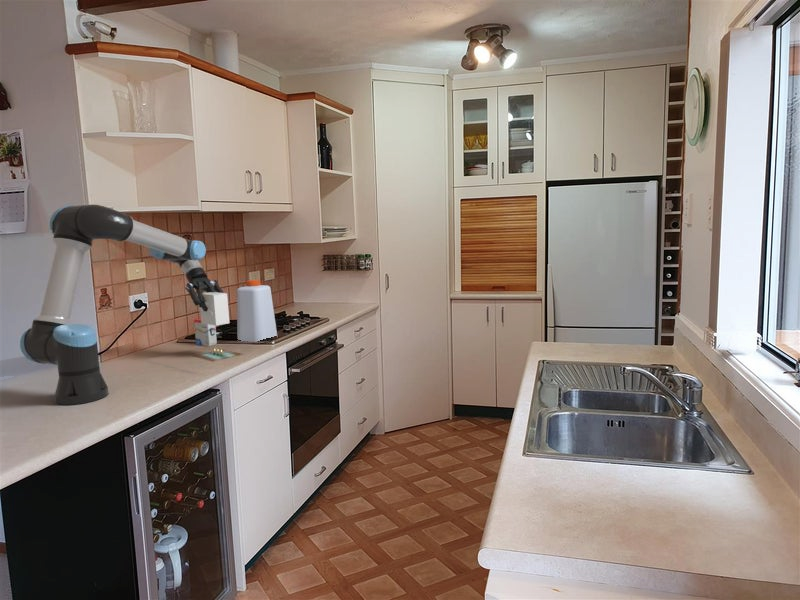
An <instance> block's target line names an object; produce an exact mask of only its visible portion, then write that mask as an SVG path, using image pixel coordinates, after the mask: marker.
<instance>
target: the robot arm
mask: <svg viewBox="0 0 800 600" xmlns="http://www.w3.org/2000/svg"><path fill="white" fill-rule="evenodd" d="M49 229H50V231H51V234H52V235H53V238H52V241H53V243H54V244H55V245H56V247H55V252H54V254H53V260H52V263H51V264H52V265H51V267H50V273H49V276H48V282H47V284H46V287H45V288H46V289H45V293H44V297H43V301H42V305H41V310H40V313H39V315H38V316H37V317H35V318H33V320H32V324H31V327H30V328H28V329H27V330H26V331H24V332H23V333H22V336H21V337H20V340H19V341H20V342H19V348H20V350H21V352H22V354H23V356H24V357H25V358H26V359H27V360H29V361H31V362H33V363H37V364H43V365H46V364H48V365H56V366H57V372H58V380H57V385H56V389H55V393H54V399H55V400H54V401H55V403H56V404H58V405H65V406H66V405H67V406H71V405H79V404H80V405H81V404H86V403H91V402H95V401H98V400H101V399H104V398H105V397H107V396H108V395H109V393H110V392H109V387H108V384H107V382H106V381H105V379H104V377H103V375H102V373H101V368H100V359H99V349H98V338H97V334H96V330H95V328H94V327H92V326H91V325H88V324H84V323H83V324H82V323H78V324H76V323H72V322H71V320H70V319H71V318H70V317H71V315H72V310H73V306H74V301H75V297H76V292H77V289H78V288H77V287H78V284H79V279H80V275H81V271H82V267H83V262H84V257H85V254H86V252H87V251H89V250H91V249H92V246H93V242H94V240H113V241H117V242H126V241H127V242H130V243H134V244H136V245H140V246H143V247H146V248H149V253H150V255H151V256H152V257H153V258H156V259H158V260H163V261H167V262H171V263H174V264H178V265H179V268H180V269H181V271H182V273H183V274H184V276H185V277H186V280H187V281H188V282H186V285H185V288H184V289H185V290H186V291H187V292H188V293H189V295H190V299H191V300H192V302H193V305H194V306H195V307H196V306H198V307H199V308H200V307H202V309H203V311H204V312H205V311H206V313H207V314H208V316H209V318H210V319H212V317H213V315H214V313H213V312H212V310H211V308H210V307H209V305H208V303H207V302H205V303H204V297H203V295H202V294H203V293H204V292H205V293H208V292H218V293H225V292H224V291H223V289H222V288H221V286H220V285H219V283H218V280H217V279H215V280H213V281H212V280H210V279H209V278H208V274H207V273H206V272H205V270H204V268H203V266H202V264H201V263H200V261H199V260H203V259H204V257H205V255H206V253H207V250H206V249H207V248H206V246H205V244H204V242H203V241H200V240H197V239H196V240H190V239H187V238H184V237H181V236H179V235H176V234H173V233H170V232H168V231H165V230H162V229H159V228H156V227H153V226H150V225H149V224H146V223H144V222H143V223H142V222H140V221H137V220H135V219H134V218H133V217H132V216H131V215H129V214H127V213H123V212H121V211H119V210H115V209H113V208H110V207H107V206H104V205H100V204H84V205H75V204H74V205H73V204H72V205H67V206H66V205H65V206H63V207H60V208H58V209H56V210H55V211H54V212H53V213H52V215H51V216H50V218H49ZM203 291H204V292H203Z"/></svg>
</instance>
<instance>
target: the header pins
mask: <svg viewBox="0 0 800 600" xmlns="http://www.w3.org/2000/svg"><path fill="white" fill-rule="evenodd" d="M219 350H220V356H223V353H222V349H219V348H216V347H213V348H212V352H213V355H215V354H216V353H217V355H219Z"/></svg>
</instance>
